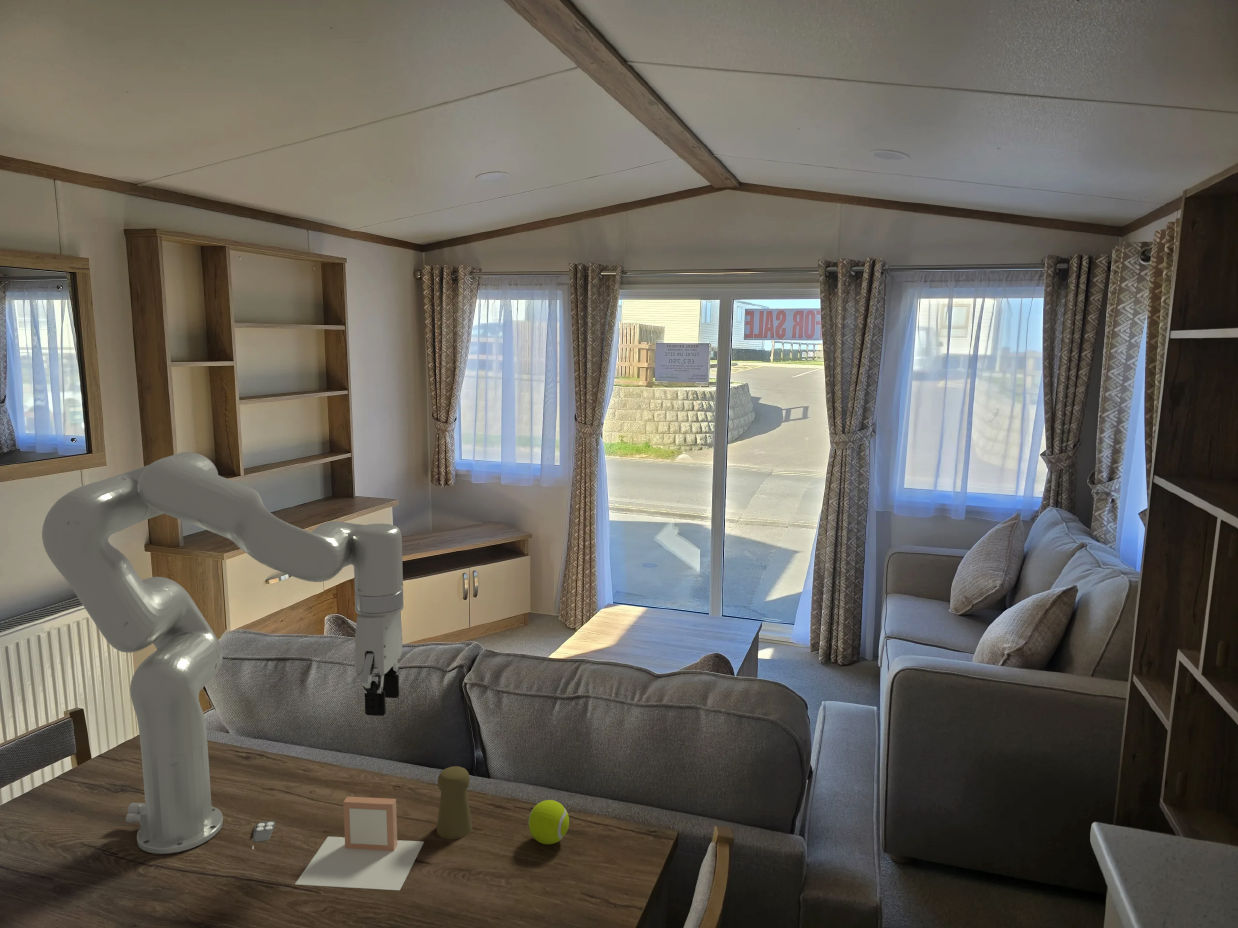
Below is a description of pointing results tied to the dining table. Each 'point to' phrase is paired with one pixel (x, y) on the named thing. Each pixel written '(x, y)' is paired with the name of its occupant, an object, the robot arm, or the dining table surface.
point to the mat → (360, 866)
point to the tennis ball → (548, 822)
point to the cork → (454, 804)
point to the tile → (370, 823)
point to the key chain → (263, 831)
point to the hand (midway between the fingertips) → (382, 704)
